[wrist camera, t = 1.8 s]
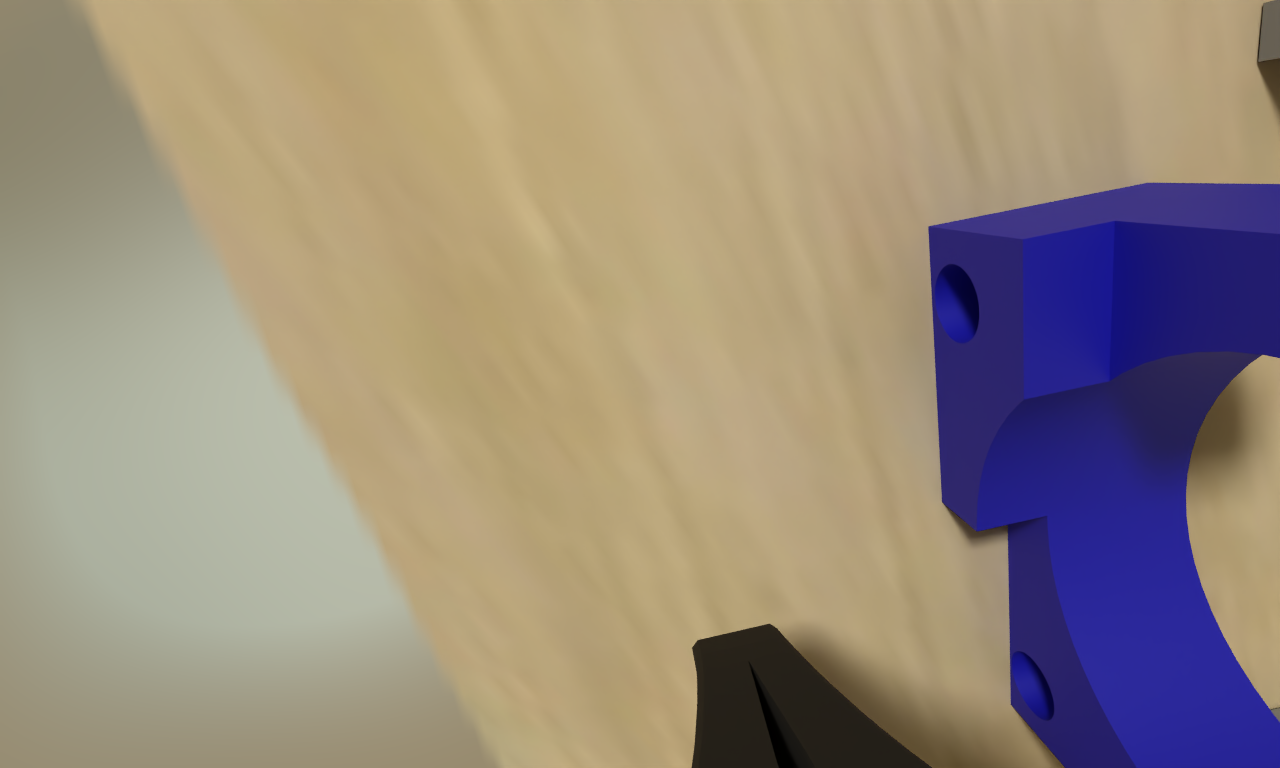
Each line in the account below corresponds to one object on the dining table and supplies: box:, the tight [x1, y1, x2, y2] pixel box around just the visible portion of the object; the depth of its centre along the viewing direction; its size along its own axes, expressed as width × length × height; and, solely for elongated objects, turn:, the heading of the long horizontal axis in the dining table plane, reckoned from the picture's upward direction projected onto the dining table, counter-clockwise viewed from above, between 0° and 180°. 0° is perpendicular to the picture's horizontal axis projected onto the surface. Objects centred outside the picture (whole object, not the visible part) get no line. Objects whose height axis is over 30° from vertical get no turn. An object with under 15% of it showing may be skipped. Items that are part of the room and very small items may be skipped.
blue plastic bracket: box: [929, 183, 1280, 768], centre depth 12 cm, size 12×4×6 cm, turn 10°
